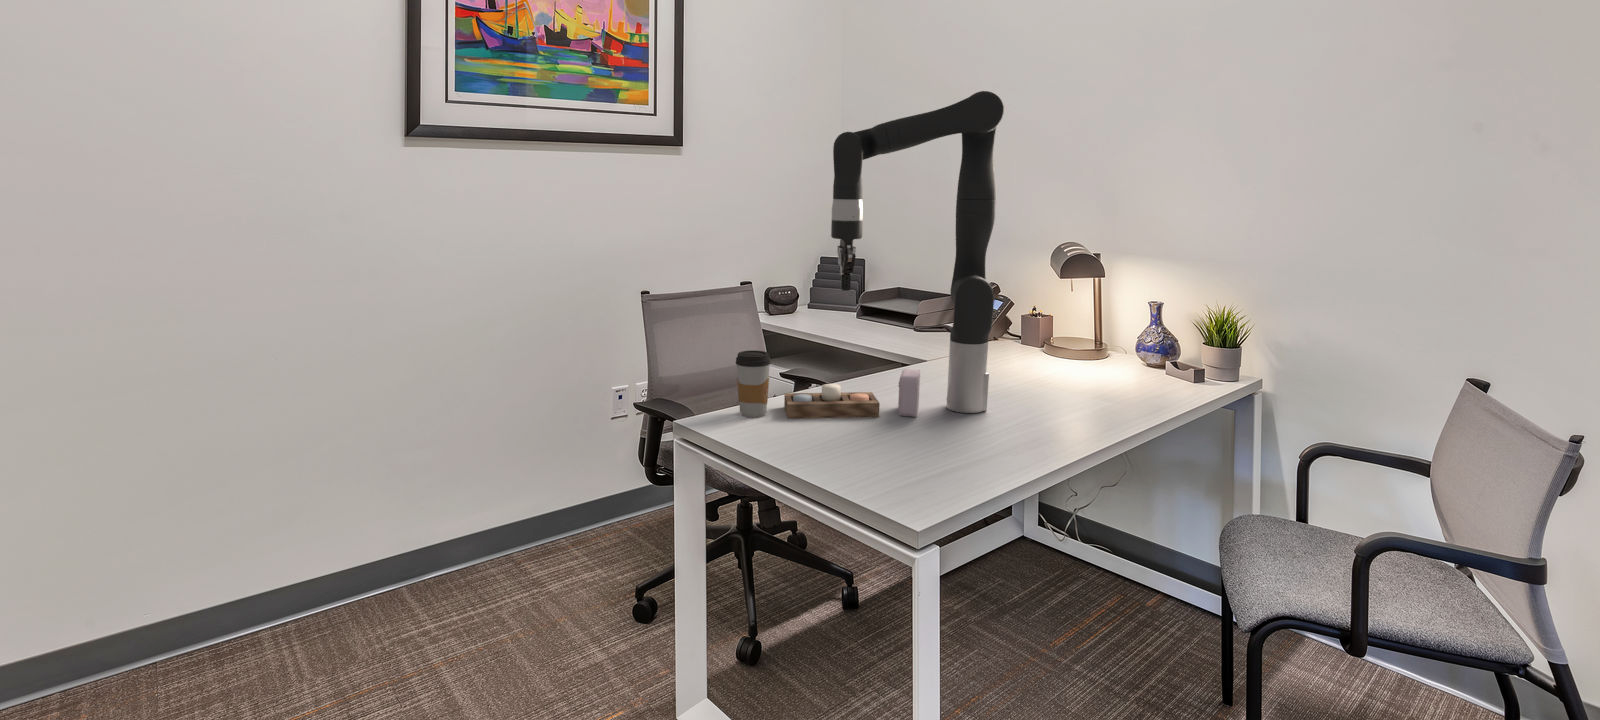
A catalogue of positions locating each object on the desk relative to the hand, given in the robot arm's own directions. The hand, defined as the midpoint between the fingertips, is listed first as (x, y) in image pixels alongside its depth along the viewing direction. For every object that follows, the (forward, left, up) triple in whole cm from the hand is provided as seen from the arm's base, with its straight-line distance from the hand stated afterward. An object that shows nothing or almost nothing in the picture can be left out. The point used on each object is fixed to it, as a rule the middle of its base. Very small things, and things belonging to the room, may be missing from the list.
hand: (845, 290), depth 193 cm
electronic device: (-15, +8, -29) cm, 34 cm away
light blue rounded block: (+11, +7, -28) cm, 31 cm away
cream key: (+4, +7, -26) cm, 27 cm away
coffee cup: (+23, +8, -29) cm, 38 cm away
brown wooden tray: (+4, +7, -29) cm, 30 cm away
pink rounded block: (-3, +7, -28) cm, 29 cm away
